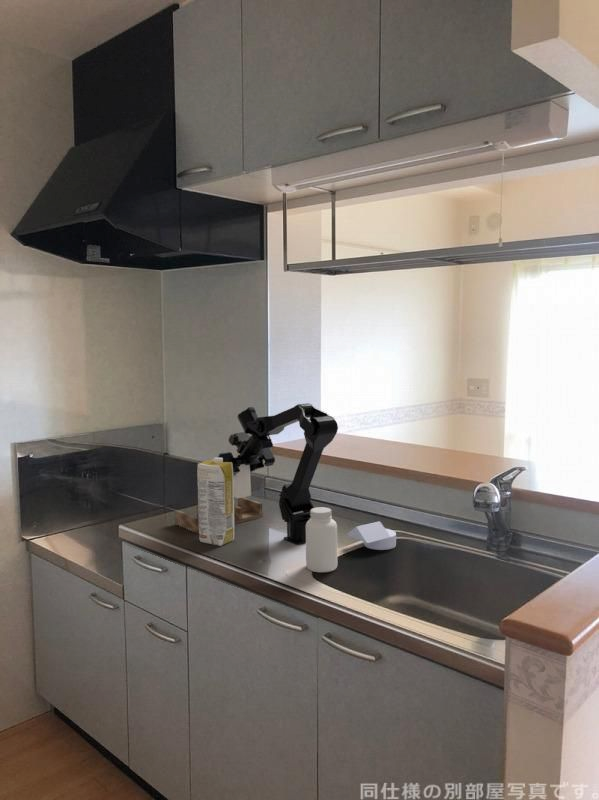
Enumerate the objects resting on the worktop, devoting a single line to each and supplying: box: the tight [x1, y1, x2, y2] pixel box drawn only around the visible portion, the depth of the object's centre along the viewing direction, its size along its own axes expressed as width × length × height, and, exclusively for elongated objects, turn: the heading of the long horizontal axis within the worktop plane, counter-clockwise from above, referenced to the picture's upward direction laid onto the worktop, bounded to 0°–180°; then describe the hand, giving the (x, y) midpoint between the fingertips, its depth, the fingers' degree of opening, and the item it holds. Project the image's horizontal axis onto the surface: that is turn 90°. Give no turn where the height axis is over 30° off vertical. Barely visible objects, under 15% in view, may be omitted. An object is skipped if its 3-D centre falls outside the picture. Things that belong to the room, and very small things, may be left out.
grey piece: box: [232, 453, 252, 499], centre depth 208 cm, size 5×5×13 cm
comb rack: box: [174, 497, 264, 534], centre depth 204 cm, size 12×25×4 cm, turn 132°
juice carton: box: [196, 457, 235, 547], centre depth 183 cm, size 9×8×24 cm
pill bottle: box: [305, 506, 338, 573], centre depth 163 cm, size 8×8×15 cm
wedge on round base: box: [345, 521, 397, 551], centre depth 179 cm, size 9×7×13 cm
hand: (237, 474), depth 209 cm, fingers closed on grey piece, 5 cm apart
